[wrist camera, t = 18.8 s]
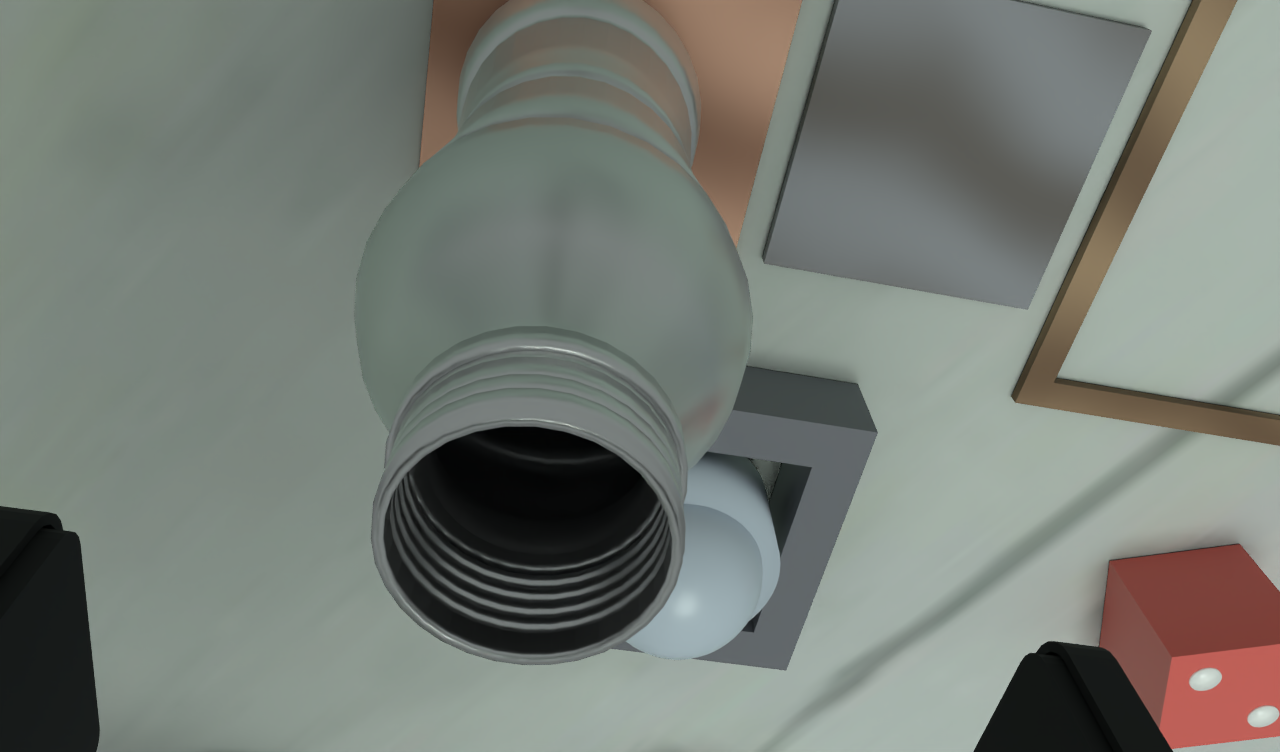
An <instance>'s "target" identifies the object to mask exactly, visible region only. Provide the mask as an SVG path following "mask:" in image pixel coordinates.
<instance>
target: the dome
mask: <svg viewBox="0 0 1280 752" xmlns="http://www.w3.org/2000/svg"><path fill="white" fill-rule="evenodd" d="M683 505H684V516H685V525H686V531H685V552H684V555H683V563H682V566H681V570H680V573H679V577H678V580H677V583H676V586H675V588H674V590H673V592H672V593H671V595H670V597H669V599H668V600H667V602H666V604H665V606H664V607H663V608H662V609H661V611H660V612H659V613H658V614H657V615H656V616H655V617H654V618H653V619H652V621H651V622H650V623H649V624H648V625H647V626H646V627H644V628H643V629H642V630H640V631H639V632H638V633H636V634H635V635H634V636H632V637H631V638H630V639H628V640H627V641H626V642H627V643H629V644H630V645H632V646H633V647H635V648H636V649H638V650H640V651H642V652H645V653H647V654H650V655H652V656H656V657H659V658H665V659H674V660H680V659H692V658H697V657H701V656H704V655H707V654H709V653H712V652H714V651H716V650H718V649H720V648H721V647H723V646H724V645H726V644H727V643H729V642H730V641H731V640H733V639H734V638H735V637H736V636H737V635H738V634H739V633H740V632H741V630H742V629H743V628H744V627H745V626H746V624H747V623H748V621H750V620H751V619H752V618H753V617H754V616H755V615H756V614H758V613H759V612H760V611H761V609H762V608H763V607H764V606H765V605H766V604H767V602H768V600H769V599H770V597H771V596H772V594H773V592H774V590H775V587H776V585H777V582H778V578H779V574H780V553H779V549H778V544H777V540H776V535H775V530H774V526H773V521H772V517H771V512H770V507H769V503H768V498H767V494H766V490H765V486H764V483H763V480H762V478H761V476H760V474H759V472H758V471H757V469H756V468H755V466H754V465H753V464H752V463H751V462H750V460H749V459H748V458H747V457H741V456H734V455H728V454H721V453H714V452H708V451H707V452H706V453H705V454H704V455H703V457H702V458H701V459H700V460H699V461H698V463H697V464H696V465H695V466H694V467H692V468H691V469H690V470H689V471H688V478H687V494H686V497H685V501H684V504H683Z"/></svg>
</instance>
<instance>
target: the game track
mask: <svg viewBox="0 0 1280 752" xmlns="http://www.w3.org/2000/svg"><path fill="white" fill-rule="evenodd" d="M508 1H509V0H434V1H433V12H432V24H431V36H430V48H429V59H428V71H427V83H426V95H425V106H424V118H423V130H422V142H421V153H420V165H419V168H420V167H421V165H422V164H423V163H424V162H426V161H427V160H428V159H430V158H431V157H432V156H433V155H434V154H436V153H437V152H438V151H439V150H440V149H441V148H443V147H444V146H445V145H446V144H447V143H449V142H450V141H451V140H452V139H453V138H454V137H455V136H456V134H457V133H458V126H457V100H458V90H459V81H460V74H461V71H462V67H463V64H464V61H465V58H466V54H467V51H468V50H469V48H470V46H471V44H472V42H473V40H474V39H475V37H476V35H477V33H478V31H479V29H480V28H481V27H482V26H483V25H484V24H485V22H486V21H487V20H488V19H489V18H490V17H491V15H492V14H493V13H494V12H495V11H496V10H497V9H498V8H500V7H501V6H502V5H504V4H505V3H506V2H508ZM643 1H644V2H646V3H647V4H648V5H650V6H651V7H652V8H654V9H655V10H656V11H658V12H659V13H660V14H661V16H662V17H663V18H664V19H665V20H666V21H667V22H668V23H669V25H670V26H671V27H672V28H673V29H674V30H675V31H676V33H677V35H678V36H679V38H680V40H681V41H682V43H683V45H684V46H685V48H686V50H687V52H688V53H689V56H690V59H691V61H692V64H693V67H694V70H695V73H696V76H697V79H698V86H699V92H700V99H701V118H700V131H699V137H698V143H697V147H696V152H695V156H694V160H693V165H692V167H691V170H692V172H693V175H694V176H695V177H696V179H697V180H698V182H699V183H700V185H701V186H702V188H703V189H704V191H705V192H706V193H707V195H708V196H709V198H710V199H711V201H712V203H713V204H714V206H715V207H716V209H717V211H718V212H719V214H720V215H721V217H722V219H723V220H724V222H725V223H726V225H727V228H728V230H729V233H730V236H731V238H732V240H733V242H734V244H735V247H737V244H738V240H739V236H740V232H741V229H742V225H743V221H744V217H745V214H746V210H747V206H748V202H749V199H750V195H751V191H752V187H753V184H754V180H755V176H756V172H757V168H758V165H759V161H760V157H761V153H762V150H763V146H764V142H765V138H766V135H767V131H768V127H769V123H770V120H771V116H772V112H773V108H774V105H775V101H776V97H777V93H778V90H779V86H780V82H781V78H782V75H783V71H784V67H785V63H786V60H787V56H788V52H789V48H790V45H791V41H792V37H793V33H794V30H795V26H796V22H797V18H798V15H799V11H800V7H801V3H802V0H643ZM1236 2H1237V0H1193V1H1192V3H1191V6H1190V8H1189V10H1188V12H1187V14H1186V17H1185V19H1184V21H1183V23H1182V25H1181V27H1180V30H1179V32H1178V34H1177V36H1176V38H1175V41H1174V43H1173V45H1172V47H1171V49H1170V51H1169V54H1168V56H1167V58H1166V60H1165V62H1164V65H1163V67H1162V69H1161V71H1160V73H1159V75H1158V78H1157V80H1156V82H1155V84H1154V86H1153V89H1152V91H1151V93H1150V95H1149V97H1148V99H1147V102H1146V104H1145V106H1144V108H1143V110H1142V113H1141V115H1140V117H1139V119H1138V121H1137V123H1136V126H1135V128H1134V130H1133V132H1132V134H1131V136H1130V139H1129V141H1128V143H1127V145H1126V147H1125V150H1124V152H1123V154H1122V156H1121V158H1120V160H1119V163H1118V165H1117V167H1116V169H1115V171H1114V174H1113V176H1112V178H1111V180H1110V182H1109V184H1108V187H1107V189H1106V191H1105V193H1104V195H1103V198H1102V200H1101V202H1100V204H1099V206H1098V208H1097V211H1096V213H1095V215H1094V217H1093V219H1092V222H1091V224H1090V226H1089V228H1088V230H1087V232H1086V235H1085V237H1084V239H1083V241H1082V243H1081V246H1080V248H1079V250H1078V252H1077V254H1076V256H1075V259H1074V261H1073V263H1072V265H1071V267H1070V270H1069V272H1068V274H1067V276H1066V278H1065V280H1064V283H1063V285H1062V287H1061V289H1060V291H1059V293H1058V296H1057V298H1056V300H1055V302H1054V304H1053V307H1052V309H1051V311H1050V313H1049V315H1048V317H1047V320H1046V322H1045V324H1044V326H1043V328H1042V331H1041V333H1040V335H1039V337H1038V339H1037V341H1036V344H1035V346H1034V348H1033V350H1032V352H1031V355H1030V357H1029V359H1028V361H1027V363H1026V365H1025V368H1024V370H1023V372H1022V374H1021V376H1020V379H1019V381H1018V383H1017V385H1016V387H1015V389H1014V392H1013V394H1012V396H1011V397H1012V398H1013V400H1014V401H1015V403H1021V404H1027V405H1033V406H1039V407H1046V408H1052V409H1058V410H1064V411H1070V412H1076V413H1082V414H1089V415H1095V416H1101V417H1107V418H1113V419H1119V420H1125V421H1132V422H1138V423H1144V424H1150V425H1156V426H1162V427H1168V428H1175V429H1181V430H1187V431H1193V432H1199V433H1205V434H1211V435H1218V436H1224V437H1230V438H1236V439H1242V440H1248V441H1254V442H1261V443H1267V444H1273V445H1279V446H1280V415H1274V414H1268V413H1262V412H1257V411H1251V410H1245V409H1239V408H1233V407H1227V406H1221V405H1215V404H1209V403H1203V402H1197V401H1191V400H1185V399H1179V398H1173V397H1167V396H1161V395H1155V394H1149V393H1143V392H1137V391H1131V390H1125V389H1119V388H1113V387H1107V386H1101V385H1095V384H1089V383H1083V382H1077V381H1071V380H1065V379H1059V378H1056V377H1057V375H1058V373H1059V371H1060V368H1061V366H1062V364H1063V362H1064V360H1065V358H1066V356H1067V354H1068V352H1069V350H1070V348H1071V346H1072V343H1073V341H1074V339H1075V337H1076V335H1077V333H1078V331H1079V329H1080V327H1081V325H1082V323H1083V321H1084V318H1085V316H1086V314H1087V312H1088V310H1089V308H1090V306H1091V304H1092V302H1093V300H1094V298H1095V296H1096V293H1097V291H1098V289H1099V287H1100V285H1101V283H1102V281H1103V279H1104V277H1105V275H1106V273H1107V271H1108V269H1109V266H1110V264H1111V262H1112V260H1113V258H1114V256H1115V254H1116V252H1117V250H1118V248H1119V246H1120V244H1121V241H1122V239H1123V237H1124V235H1125V233H1126V231H1127V229H1128V227H1129V225H1130V223H1131V221H1132V219H1133V216H1134V214H1135V212H1136V210H1137V208H1138V206H1139V204H1140V202H1141V200H1142V198H1143V196H1144V194H1145V191H1146V189H1147V187H1148V185H1149V183H1150V181H1151V179H1152V177H1153V175H1154V173H1155V171H1156V169H1157V167H1158V164H1159V162H1160V160H1161V158H1162V156H1163V154H1164V152H1165V150H1166V148H1167V146H1168V144H1169V142H1170V139H1171V137H1172V135H1173V133H1174V131H1175V129H1176V127H1177V125H1178V123H1179V121H1180V119H1181V117H1182V114H1183V112H1184V110H1185V108H1186V106H1187V104H1188V102H1189V100H1190V98H1191V96H1192V94H1193V92H1194V90H1195V87H1196V85H1197V83H1198V81H1199V79H1200V77H1201V75H1202V73H1203V71H1204V69H1205V67H1206V65H1207V62H1208V60H1209V58H1210V56H1211V54H1212V52H1213V50H1214V48H1215V46H1216V44H1217V42H1218V40H1219V37H1220V35H1221V33H1222V31H1223V29H1224V27H1225V25H1226V23H1227V21H1228V19H1229V17H1230V15H1231V12H1232V10H1233V8H1234V6H1235V4H1236ZM1151 32H1152V31H1151V30H1149V29H1147V28H1144V27H1139V26H1135V25H1130V24H1125V23H1121V22H1116V21H1111V20H1107V19H1102V18H1097V17H1093V16H1088V15H1083V14H1079V13H1074V12H1069V11H1065V10H1060V9H1055V8H1051V7H1046V6H1041V5H1037V4H1032V3H1027V2H1023V1H1018V0H835V3H834V7H833V10H832V14H831V18H830V21H829V25H828V28H827V32H826V35H825V39H824V42H823V46H822V49H821V53H820V56H819V60H818V63H817V67H816V71H815V74H814V78H813V81H812V85H811V88H810V92H809V95H808V99H807V102H806V106H805V109H804V113H803V117H802V120H801V124H800V127H799V131H798V134H797V138H796V141H795V145H794V148H793V152H792V155H791V159H790V162H789V166H788V170H787V173H786V177H785V180H784V184H783V187H782V191H781V194H780V198H779V201H778V205H777V208H776V212H775V216H774V219H773V223H772V226H771V230H770V233H769V237H768V240H767V244H766V247H765V251H764V254H763V258H762V259H763V262H764V264H770V265H776V266H781V267H787V268H793V269H799V270H804V271H810V272H816V273H821V274H827V275H833V276H839V277H844V278H850V279H856V280H861V281H867V282H873V283H879V284H884V285H890V286H896V287H901V288H907V289H913V290H919V291H924V292H930V293H936V294H941V295H947V296H953V297H959V298H964V299H970V300H976V301H981V302H987V303H993V304H999V305H1004V306H1010V307H1016V308H1021V309H1027V310H1028V308H1029V306H1030V303H1031V301H1032V299H1033V297H1034V294H1035V292H1036V290H1037V288H1038V285H1039V283H1040V281H1041V279H1042V276H1043V274H1044V272H1045V270H1046V267H1047V265H1048V263H1049V261H1050V259H1051V256H1052V254H1053V252H1054V250H1055V247H1056V245H1057V243H1058V241H1059V238H1060V236H1061V234H1062V232H1063V229H1064V227H1065V225H1066V223H1067V220H1068V218H1069V216H1070V214H1071V211H1072V209H1073V207H1074V205H1075V202H1076V200H1077V198H1078V196H1079V193H1080V191H1081V189H1082V187H1083V184H1084V182H1085V180H1086V178H1087V175H1088V173H1089V171H1090V169H1091V166H1092V164H1093V162H1094V160H1095V157H1096V155H1097V153H1098V151H1099V148H1100V146H1101V144H1102V142H1103V139H1104V137H1105V135H1106V133H1107V130H1108V128H1109V126H1110V124H1111V121H1112V119H1113V117H1114V115H1115V112H1116V110H1117V108H1118V106H1119V103H1120V101H1121V99H1122V97H1123V94H1124V92H1125V90H1126V88H1127V85H1128V83H1129V81H1130V79H1131V76H1132V74H1133V72H1134V70H1135V68H1136V65H1137V63H1138V61H1139V59H1140V56H1141V54H1142V52H1143V50H1144V47H1145V45H1146V43H1147V41H1148V38H1149V36H1150V34H1151Z"/></svg>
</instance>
